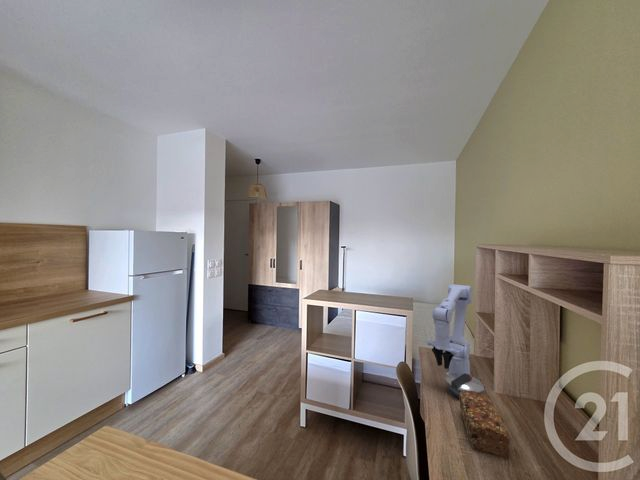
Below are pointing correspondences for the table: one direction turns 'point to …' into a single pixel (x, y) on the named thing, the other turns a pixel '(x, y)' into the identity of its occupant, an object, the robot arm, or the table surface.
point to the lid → (464, 382)
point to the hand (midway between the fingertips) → (443, 366)
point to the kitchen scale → (455, 391)
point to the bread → (484, 424)
